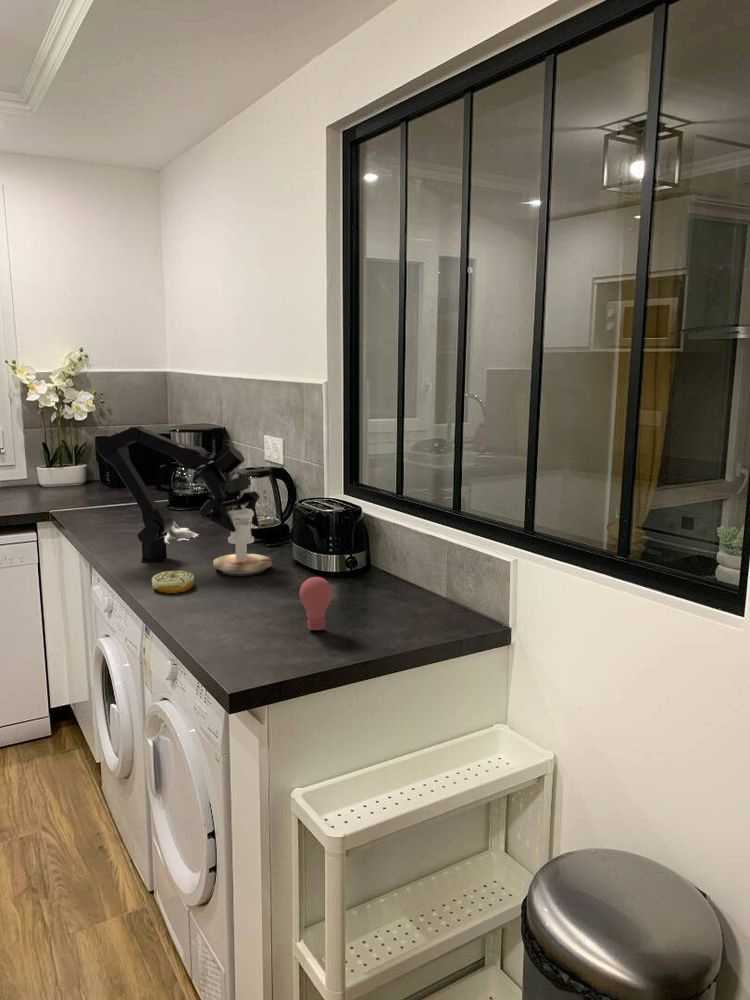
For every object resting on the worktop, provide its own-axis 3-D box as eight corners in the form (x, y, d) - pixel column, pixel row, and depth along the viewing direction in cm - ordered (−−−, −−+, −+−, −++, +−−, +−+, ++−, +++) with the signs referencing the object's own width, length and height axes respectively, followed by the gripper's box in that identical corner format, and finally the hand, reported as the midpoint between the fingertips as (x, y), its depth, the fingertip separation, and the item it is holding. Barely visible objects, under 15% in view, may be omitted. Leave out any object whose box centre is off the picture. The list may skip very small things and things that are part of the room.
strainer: (242, 565, 204) (242, 511, 201) (223, 561, 207) (222, 508, 205) (259, 560, 210) (259, 507, 207) (239, 556, 213) (239, 504, 211)
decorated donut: (147, 595, 186) (147, 580, 185) (157, 582, 196) (156, 568, 196) (190, 595, 186) (189, 580, 186) (197, 582, 197) (197, 568, 196)
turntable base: (221, 576, 202) (220, 571, 202) (220, 564, 214) (220, 559, 213) (265, 575, 205) (265, 569, 204) (263, 563, 216) (263, 558, 216)
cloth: (144, 547, 233) (144, 528, 232) (133, 534, 249) (132, 516, 248) (215, 541, 243) (214, 522, 242) (199, 529, 260) (199, 512, 258)
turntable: (213, 573, 200) (213, 569, 199) (213, 557, 215) (213, 554, 215) (273, 571, 203) (273, 567, 203) (269, 556, 218) (269, 552, 218)
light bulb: (299, 624, 167) (299, 572, 165) (331, 624, 168) (332, 573, 166) (298, 636, 160) (299, 582, 158) (332, 636, 161) (333, 582, 159)
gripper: (206, 469, 198) (237, 516, 194) (254, 463, 214) (284, 505, 210) (186, 495, 204) (216, 541, 200) (234, 487, 219) (263, 529, 215)
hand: (246, 528), depth 206 cm, fingers open, 9 cm apart
